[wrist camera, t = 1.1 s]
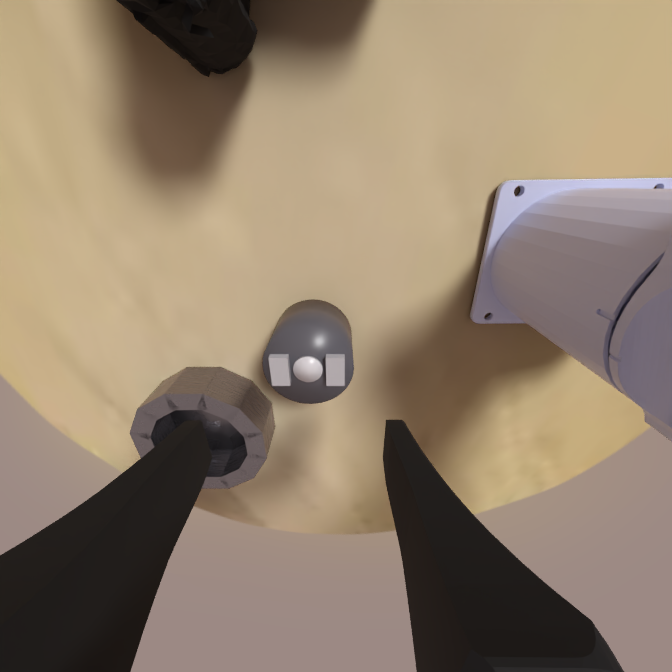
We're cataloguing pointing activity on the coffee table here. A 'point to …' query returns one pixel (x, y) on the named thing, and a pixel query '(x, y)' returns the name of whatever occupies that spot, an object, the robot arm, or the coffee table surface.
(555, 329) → the robot arm
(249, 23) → the film camera
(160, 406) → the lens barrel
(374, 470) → the coffee table surface
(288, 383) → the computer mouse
